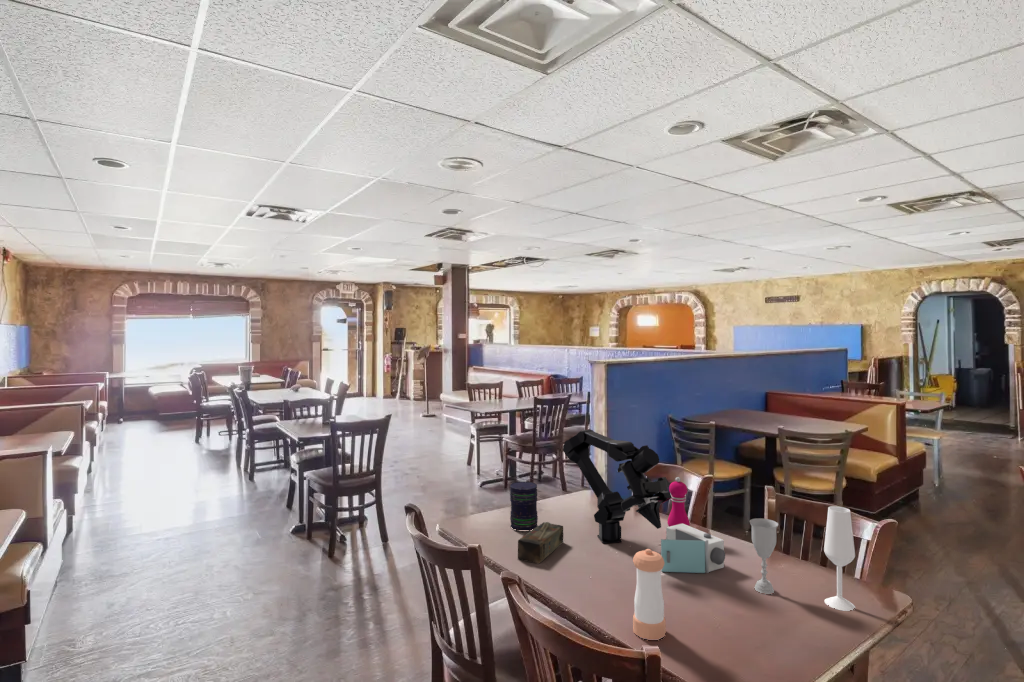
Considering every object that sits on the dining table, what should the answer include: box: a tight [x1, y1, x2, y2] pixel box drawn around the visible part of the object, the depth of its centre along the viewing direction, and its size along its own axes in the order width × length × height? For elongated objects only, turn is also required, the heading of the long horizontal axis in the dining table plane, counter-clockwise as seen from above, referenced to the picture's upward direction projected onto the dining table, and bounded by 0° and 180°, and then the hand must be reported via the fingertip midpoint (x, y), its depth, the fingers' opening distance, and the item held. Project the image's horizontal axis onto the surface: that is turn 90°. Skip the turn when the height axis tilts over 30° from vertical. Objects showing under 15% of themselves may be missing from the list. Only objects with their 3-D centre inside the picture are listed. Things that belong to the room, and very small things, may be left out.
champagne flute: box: [823, 505, 856, 612], centre depth 135 cm, size 7×7×24 cm
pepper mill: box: [667, 476, 691, 527], centre depth 182 cm, size 7×7×20 cm
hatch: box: [660, 538, 706, 574], centre depth 154 cm, size 12×2×9 cm, turn 83°
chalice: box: [749, 517, 779, 595], centre depth 143 cm, size 7×7×18 cm
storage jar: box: [509, 481, 539, 530], centre depth 193 cm, size 10×10×15 cm
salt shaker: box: [632, 548, 667, 639], centre depth 124 cm, size 7×7×19 cm
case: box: [665, 523, 726, 574], centre depth 162 cm, size 18×7×9 cm, turn 28°
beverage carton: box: [517, 521, 564, 565], centre depth 171 cm, size 8×19×7 cm, turn 152°
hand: (659, 528), depth 161 cm, fingers closed
